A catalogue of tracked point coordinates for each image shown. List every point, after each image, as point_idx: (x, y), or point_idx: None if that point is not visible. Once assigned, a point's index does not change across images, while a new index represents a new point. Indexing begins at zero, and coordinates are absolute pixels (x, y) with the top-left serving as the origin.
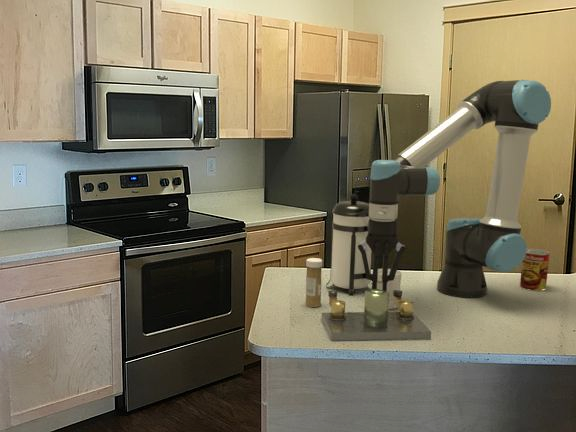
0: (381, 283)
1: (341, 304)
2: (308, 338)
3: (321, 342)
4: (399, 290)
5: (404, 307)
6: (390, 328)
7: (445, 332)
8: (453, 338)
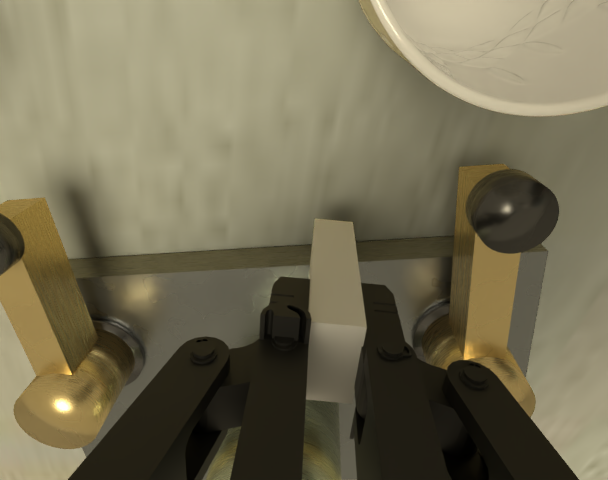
0: (340, 398)
1: (79, 446)
2: (29, 438)
3: None
4: (545, 194)
5: None
6: (340, 451)
7: (601, 389)
8: (596, 439)
